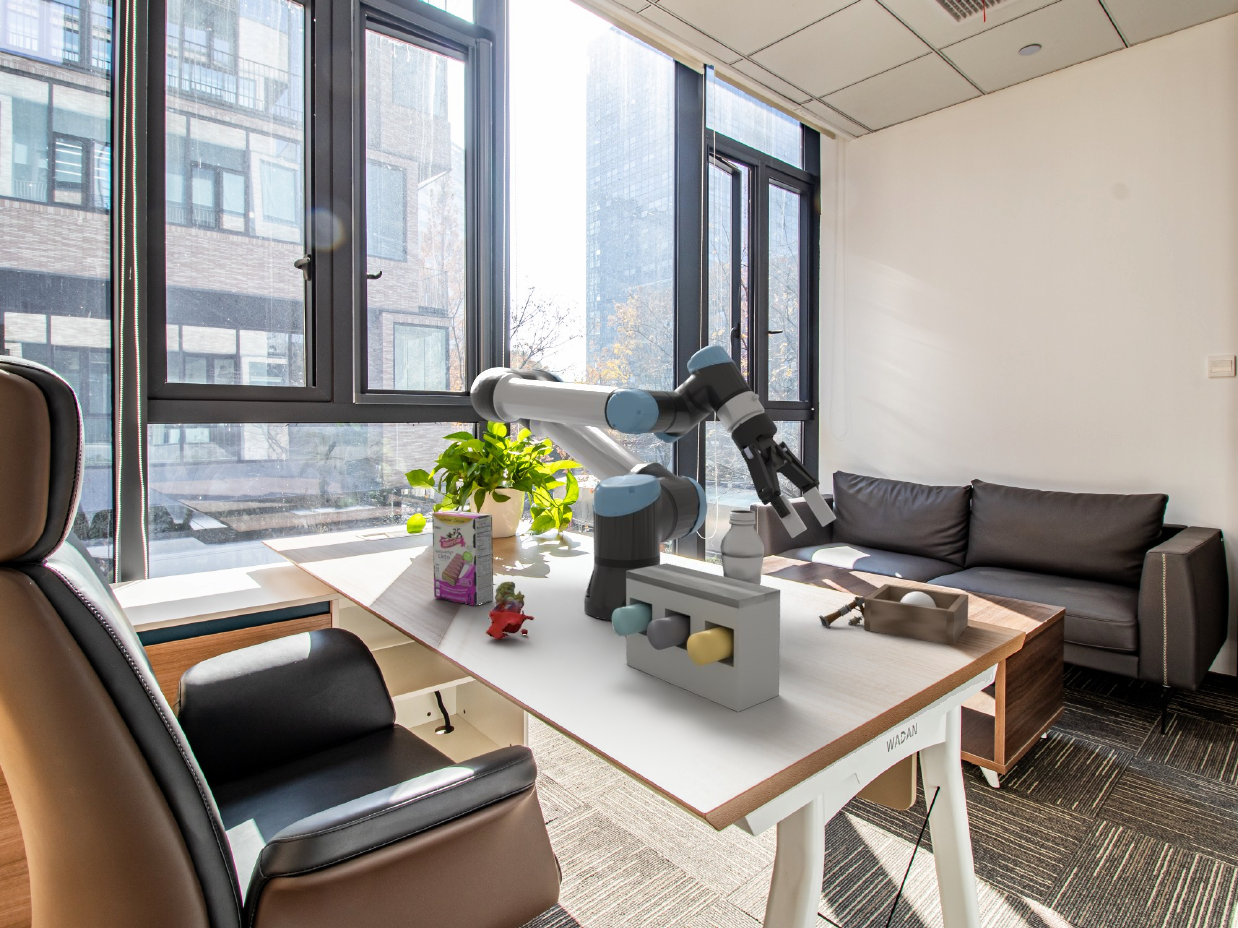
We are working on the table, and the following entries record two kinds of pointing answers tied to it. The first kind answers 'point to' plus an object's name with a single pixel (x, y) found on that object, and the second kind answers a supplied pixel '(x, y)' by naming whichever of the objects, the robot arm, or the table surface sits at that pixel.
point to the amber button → (711, 645)
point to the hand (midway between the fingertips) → (815, 528)
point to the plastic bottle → (742, 548)
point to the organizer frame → (916, 614)
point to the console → (709, 607)
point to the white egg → (918, 599)
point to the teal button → (632, 618)
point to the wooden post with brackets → (843, 611)
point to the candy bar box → (463, 556)
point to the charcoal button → (669, 631)
